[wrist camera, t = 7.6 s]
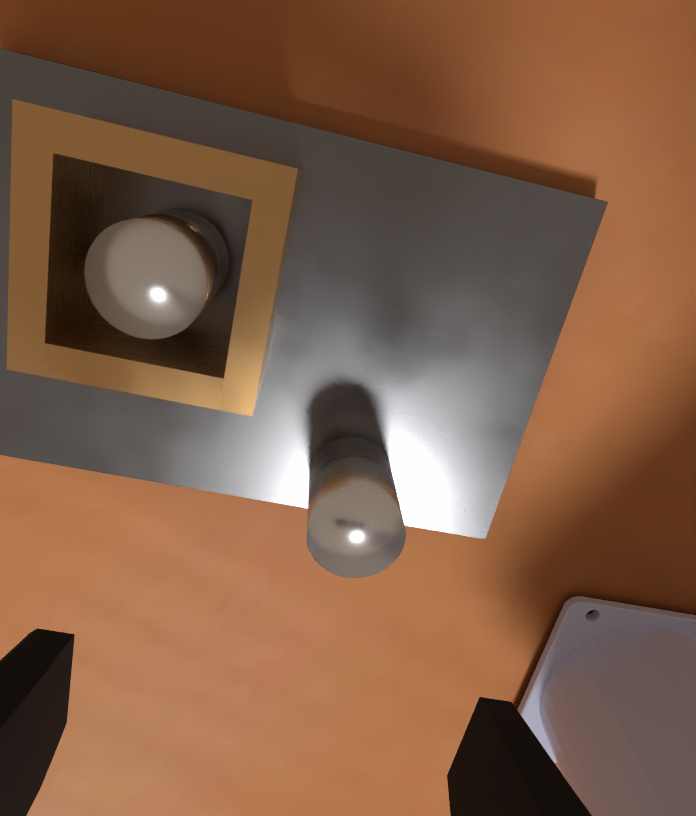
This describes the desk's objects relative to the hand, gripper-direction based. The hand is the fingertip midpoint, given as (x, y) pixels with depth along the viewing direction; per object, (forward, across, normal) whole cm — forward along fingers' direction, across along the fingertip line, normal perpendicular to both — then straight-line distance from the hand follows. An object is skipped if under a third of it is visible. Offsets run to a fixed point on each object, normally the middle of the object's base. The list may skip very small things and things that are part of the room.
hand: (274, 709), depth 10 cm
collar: (+9, +4, -6) cm, 12 cm away
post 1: (+10, +4, -6) cm, 12 cm away
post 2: (+10, -2, 0) cm, 10 cm away
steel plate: (+10, +1, -4) cm, 11 cm away
